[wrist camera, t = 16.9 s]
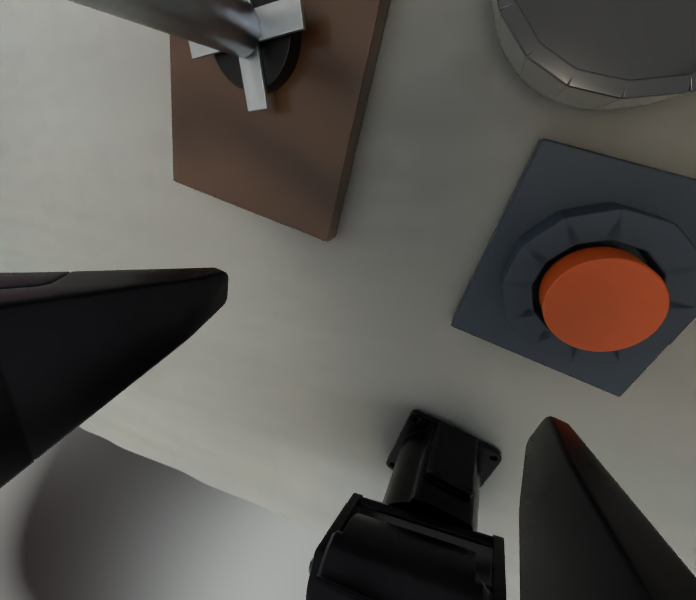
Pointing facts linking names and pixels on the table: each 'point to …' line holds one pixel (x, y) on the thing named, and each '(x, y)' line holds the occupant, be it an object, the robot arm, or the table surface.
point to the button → (602, 299)
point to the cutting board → (281, 121)
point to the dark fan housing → (601, 49)
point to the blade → (227, 36)
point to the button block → (574, 234)
